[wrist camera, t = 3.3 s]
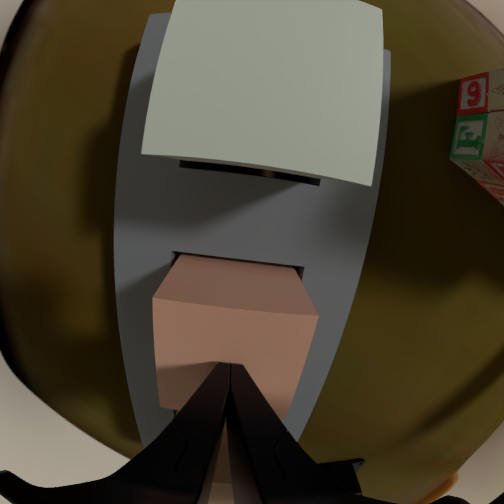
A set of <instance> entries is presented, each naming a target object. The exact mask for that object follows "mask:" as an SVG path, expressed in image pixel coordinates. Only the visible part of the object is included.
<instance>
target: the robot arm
mask: <svg viewBox="0 0 504 504" xmlns="http://www.w3.org/2000/svg"><path fill="white" fill-rule="evenodd" d="M225 420H226V432H227V443H228V453H229V462H230V472H231V481H232V489H233V497H234V504H396V503H391V502H386V501H381V500H377V499H373V498H369V497H365V496H362V491H361V488H360V485H359V482H358V478H357V475H356V472H357V471H358V470H359V469H360V468H361V467H362V466H363V464H364V463H365V460H364V459H358V460H352V461H346V462H340V463H332V464H324V465H318V464H317V463H316V462H315V461H314V460H313V459H312V458H311V457H310V456H309V455H308V454H307V453H306V452H305V451H304V450H303V449H302V448H301V446H300V445H299V444H298V443H297V441H296V440H295V439H294V438H293V436H292V435H291V433H290V432H289V431H288V430H287V428H286V427H285V425H284V424H283V423H282V421H281V420H280V418H279V417H278V415H277V414H276V413H275V411H274V410H273V408H272V407H271V405H270V404H269V403H268V401H267V400H266V398H265V397H264V395H263V394H262V392H261V391H260V389H259V388H258V386H257V385H256V383H255V382H254V380H253V379H252V377H251V376H250V374H249V373H248V371H247V370H246V368H245V367H244V365H243V364H235V363H232V364H231V365H230V363H225V362H218V363H217V364H216V365H215V367H214V368H213V369H212V371H211V372H210V373H209V374H208V376H207V377H206V378H205V380H204V381H203V382H202V383H201V385H200V386H199V387H198V388H197V390H196V391H195V392H194V393H193V395H192V396H191V397H190V398H189V400H188V401H187V402H186V403H185V405H184V406H183V407H182V408H181V410H180V411H179V412H178V413H177V414H176V416H175V417H174V418H173V419H172V422H170V423H169V424H168V425H167V426H166V428H165V429H164V430H163V431H162V432H161V433H160V434H159V435H158V436H157V437H156V439H155V440H153V441H152V442H151V443H150V444H149V445H148V446H147V447H146V448H145V449H143V450H142V451H141V452H140V453H139V454H137V455H136V456H135V457H134V458H133V459H131V460H130V461H129V462H128V463H126V464H125V465H124V466H123V467H121V468H120V469H119V470H117V471H116V472H115V473H113V474H111V475H110V476H108V477H105V478H103V479H99V480H95V481H90V482H85V483H81V484H74V485H69V486H62V487H54V488H43V487H38V486H34V485H31V484H29V483H27V482H25V481H24V480H22V479H21V478H19V477H18V476H16V475H15V474H13V473H11V472H10V471H7V470H3V471H0V495H2V496H3V497H4V498H5V499H7V500H8V501H9V502H11V503H12V504H208V500H209V496H210V491H211V487H212V482H213V478H214V473H215V469H216V464H217V459H218V455H219V450H220V446H221V441H222V436H223V432H224V427H225ZM429 504H470V503H468V502H467V501H466V500H464V499H462V498H459V497H454V496H450V495H448V496H444V497H442V498H440V499H438V500H436V501H434V502H432V503H429ZM489 504H504V492H503V493H502V494H501V495H500V496H499V497H497V498H496V499H494V500H493V501H492V502H491V503H489Z"/></svg>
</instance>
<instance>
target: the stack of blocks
mask: <svg viewBox="0 0 504 504" xmlns="http://www.w3.org/2000/svg"><path fill="white" fill-rule="evenodd" d="M449 159H450V160H451V161H452V162H454V163H455V164H456V165H458V166H459V167H460V168H462V169H463V170H464V171H466V172H467V173H468V174H469V175H470V176H472V177H473V178H474V179H475V180H476V182H477V183H479V184H480V185H481V186H482V187H483V188H485V189H486V190H487V191H488V192H489V193H490V194H491V195H493V196H494V197H495V198H496V199H497V200H498V201H499V202H500V203H501V204H502V205H503V206H504V69H500V70H496V71H492V72H485V73H481V74H477V75H474V76H470V77H466V78H462V79H460V88H459V98H458V107H457V118H456V125H455V130H454V136H453V141H452V146H451V151H450V155H449Z"/></svg>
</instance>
